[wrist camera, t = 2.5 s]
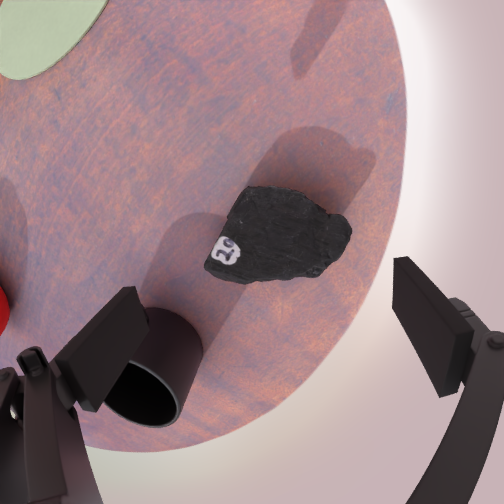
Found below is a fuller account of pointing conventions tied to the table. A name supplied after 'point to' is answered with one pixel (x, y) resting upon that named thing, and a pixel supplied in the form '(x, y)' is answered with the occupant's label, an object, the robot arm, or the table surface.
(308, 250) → the rock
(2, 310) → the tomato
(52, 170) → the table surface
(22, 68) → the mat
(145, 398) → the mug
